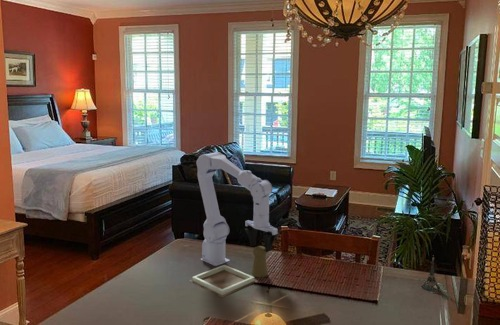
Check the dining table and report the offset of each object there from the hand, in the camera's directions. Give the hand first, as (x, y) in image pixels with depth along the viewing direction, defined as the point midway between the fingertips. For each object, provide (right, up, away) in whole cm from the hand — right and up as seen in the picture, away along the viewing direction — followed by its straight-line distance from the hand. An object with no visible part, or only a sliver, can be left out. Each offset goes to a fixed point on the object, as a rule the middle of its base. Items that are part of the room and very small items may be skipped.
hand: (260, 248), depth 174 cm
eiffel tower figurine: (+61, -14, -8) cm, 63 cm away
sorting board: (-14, -11, -5) cm, 18 cm away
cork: (0, -10, +2) cm, 11 cm away
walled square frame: (-14, -11, -5) cm, 18 cm away
